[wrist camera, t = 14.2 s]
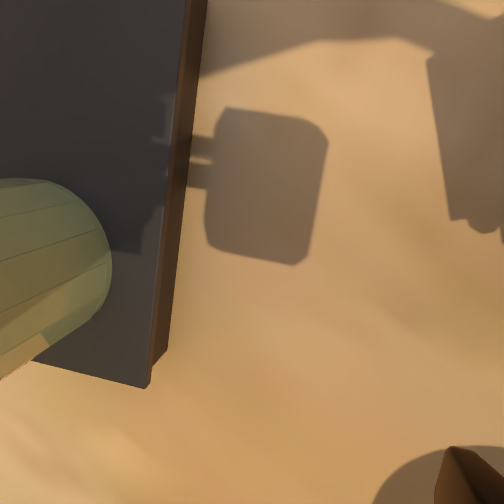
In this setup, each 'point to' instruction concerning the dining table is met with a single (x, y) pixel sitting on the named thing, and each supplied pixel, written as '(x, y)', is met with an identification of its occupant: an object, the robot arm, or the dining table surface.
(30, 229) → the cup
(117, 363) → the box
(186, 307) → the dining table surface
